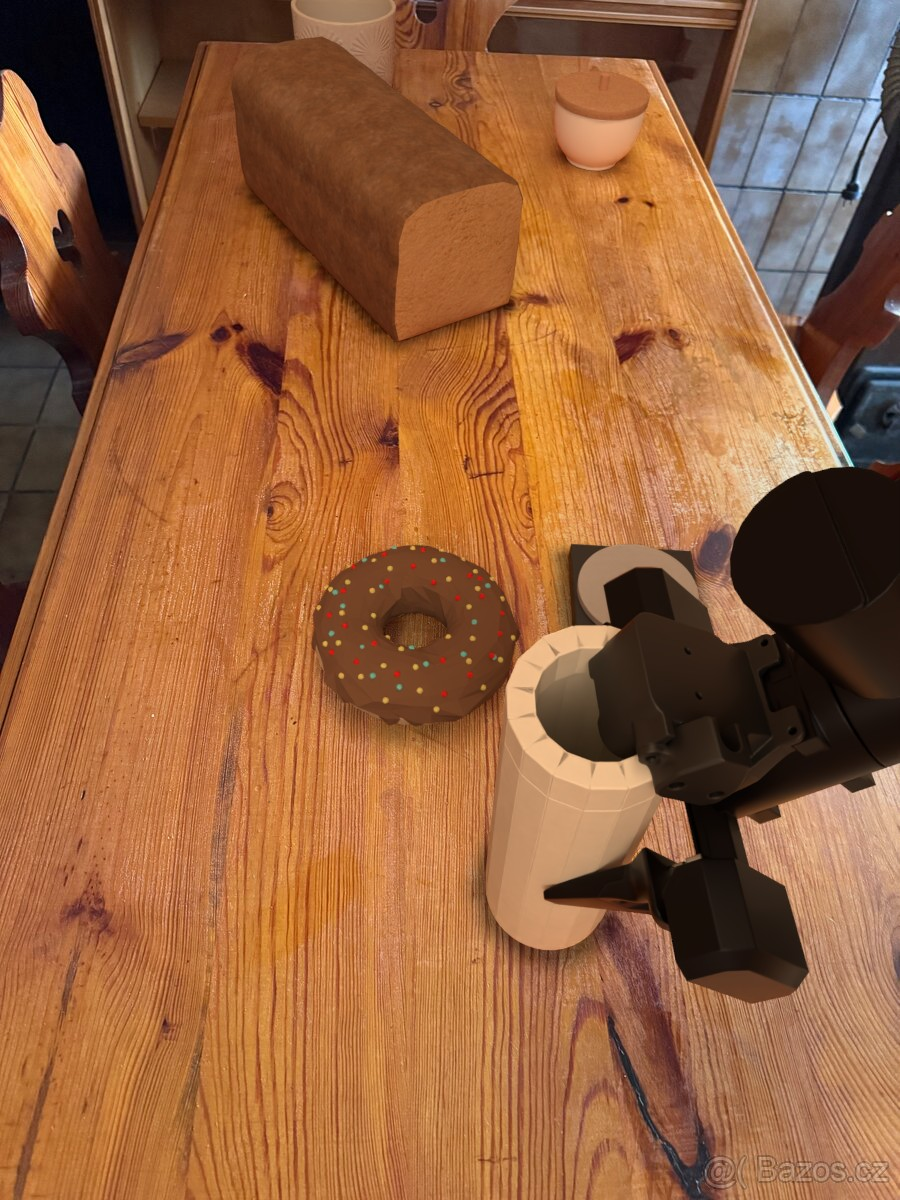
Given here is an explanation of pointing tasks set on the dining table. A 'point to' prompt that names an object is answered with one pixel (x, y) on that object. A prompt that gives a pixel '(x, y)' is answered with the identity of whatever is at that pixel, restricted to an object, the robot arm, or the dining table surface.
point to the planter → (352, 29)
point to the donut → (406, 674)
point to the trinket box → (598, 117)
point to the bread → (375, 187)
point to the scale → (617, 574)
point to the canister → (559, 793)
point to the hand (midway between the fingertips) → (540, 821)
